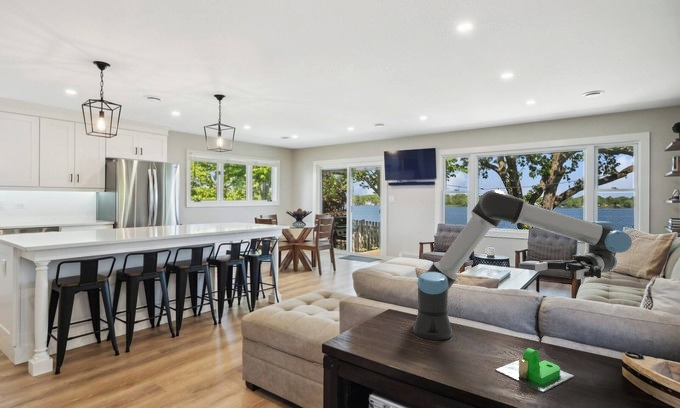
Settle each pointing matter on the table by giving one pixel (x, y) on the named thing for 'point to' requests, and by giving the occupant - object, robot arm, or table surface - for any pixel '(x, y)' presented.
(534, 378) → the mechanical part
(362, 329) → the table surface
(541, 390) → the bolt plate
